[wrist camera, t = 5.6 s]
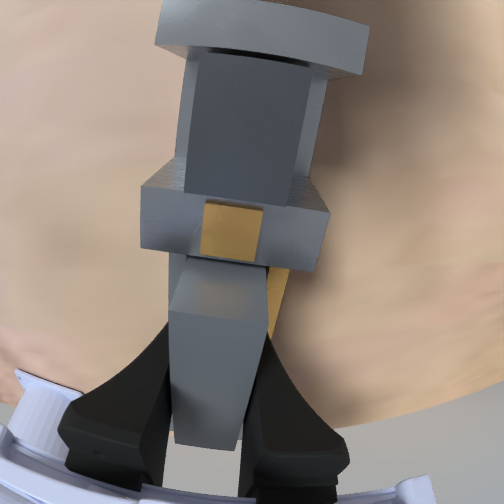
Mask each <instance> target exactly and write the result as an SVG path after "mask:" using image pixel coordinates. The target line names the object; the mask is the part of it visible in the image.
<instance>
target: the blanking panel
mask: <svg viewBox="0 0 504 504" xmlns="http://www.w3.org/2000/svg"><path fill="white" fill-rule="evenodd" d="M168 320H169V361H170V384H171V400H172V415H173V427H174V438H175V443H177V444H182V445H188V446H195V447H202V448H209V449H218V450H227V451H234V450H235V447H236V443H237V440H238V437H239V433H240V430H241V426H242V423H243V419H244V416H245V412H246V408H247V405H248V401H249V398H250V394H251V390H252V387H253V383H254V379H255V376H256V372H257V368H258V364H259V361H260V357H261V353H262V349H263V345H264V342H265V338H266V334H267V330H268V326H269V315H268V298H267V281H266V266H263V265H255V264H248V263H241V262H234V261H227V260H220V259H213V258H206V257H199V256H192V255H189V256H188V258H187V261H186V264H185V266H184V269H183V271H182V274H181V277H180V280H179V282H178V285H177V288H176V290H175V293H174V296H173V299H172V301H171V304H170V307H169V310H168Z"/></svg>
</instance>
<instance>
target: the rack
mask: <svg viewBox="0 0 504 504" xmlns="http://www.w3.org/2000/svg"><path fill="white" fill-rule="evenodd" d="M369 31H370V26H367V25H364V24H361V23H358V22H355V21H351V20H348V19H345V18H341V17H338V16H334V15H330V14H326V13H322V12H318V11H314V10H310V9H305V8H301V7H296V6H290V5H285V4H279V3H273V2H267V1H260V0H163V3H162V8H161V12H160V17H159V23H158V28H157V33H156V39H155V45H156V46H159V47H161V48H163V49H165V50H168V51H170V52H172V53H174V54H176V55H178V56H181V57H183V58H185V59H187V60H186V66H185V73H184V80H183V87H182V94H181V102H180V110H179V118H178V127H177V137H176V147H175V157H174V158H173V159H171V160H170V161H169V162H168V163H167V164H166V165H164V166H163V167H162V168H161V169H160V170H159V171H157V172H156V173H155V174H154V175H153V176H152V177H151V178H149V179H148V180H147V181H146V182H145V183H144V184H143V185H142V186H141V210H140V236H141V248H144V249H151V250H158V251H164V252H169V294H168V298H169V307H170V304H171V301H172V299H173V296H174V293H175V290H176V288H177V285H178V282H179V280H180V277H181V274H182V271H183V269H184V266H185V264H186V261H187V258H188V256H189V255H192V256H199V257H206V258H213V259H220V260H227V261H234V262H241V263H248V264H255V265H263V266H266V281H267V298H268V315H269V326H268V330H267V331H268V334H269V337H270V339H271V338H272V335H273V331H274V327H275V324H276V320H277V316H278V313H279V309H280V305H281V302H282V298H283V294H284V290H285V287H286V283H287V279H288V275H289V271H290V269H292V270H299V271H307V272H314V269H315V266H316V263H317V259H318V256H319V252H320V249H321V245H322V242H323V238H324V235H325V231H326V228H327V224H328V220H329V217H330V212H329V210H328V208H327V206H326V205H325V203H324V201H323V200H322V198H321V196H320V195H319V193H318V191H317V190H316V188H315V186H314V185H313V183H312V181H311V180H310V178H309V177H308V175H309V170H310V166H311V161H312V156H313V152H314V147H315V142H316V137H317V132H318V128H319V123H320V118H321V113H322V108H323V103H324V98H325V92H326V87H327V82H328V80H334V79H340V78H347V77H354V76H361V75H362V72H363V67H364V61H365V56H366V50H367V44H368V37H369ZM169 430H170V431H174V427H173V415H172V417H171V423H170V429H169ZM242 434H243V423H242V426H241V430H240V433H239V437H238V440H242Z"/></svg>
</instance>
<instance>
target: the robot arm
mask: <svg viewBox="0 0 504 504" xmlns="http://www.w3.org/2000/svg"><path fill="white" fill-rule="evenodd" d="M15 375H16V377H17V378H18V380H19V382H20V384H21V385H22V387H23V389H24V390H25V392H24V393H23V395H22V397H21V399H20V401H19V403H18V405H17V407H16V409H15V411H14V413H13V415H12V417H11V419H10V421H9V423H8V426H7V427H5V426H4V425H2V424H1V423H0V504H436V500H435V496H434V492H433V488H432V485H431V481H430V477H429V475H428V474H425V475H421V476H417V477H413V478H409V479H406V480H403V481H402V482H400V483H398V484H397V485H396V486H395V487H390V488H385V489H379V490H374V491H367V492H361V493H353V494H346V495H337V492H336V485H337V484H338V478H337V475H338V474H340V473H341V472H342V471H343V470H344V469H345V468H346V467H347V466H348V465H349V463H350V458H349V452H348V449H347V447H346V443H345V441H344V438H342V437H341V436H340V435H339V434H337V433H336V432H335V431H334V430H333V429H332V428H330V427H329V426H328V425H327V424H326V423H325V422H324V421H323V420H322V419H321V418H320V417H319V416H318V415H317V414H316V412H315V411H314V410H313V409H312V408H311V407H310V406H309V404H308V403H307V402H306V401H305V400H304V398H303V397H302V396H301V394H300V393H299V392H298V390H297V389H296V387H295V386H294V384H293V383H292V381H291V380H290V378H289V376H288V375H287V373H286V371H285V369H284V368H283V366H282V364H281V362H280V360H279V358H278V356H277V353H276V351H275V349H274V347H273V344H272V342H271V339H270V337H269V334H268V331H267V334H266V338H265V342H264V345H263V349H262V353H261V357H260V361H259V364H258V368H257V372H256V376H255V379H254V383H253V387H252V390H251V394H250V398H249V401H248V405H247V408H246V412H245V416H244V419H243V434H242V449H241V450H242V451H241V464H240V476H239V487H238V497H227V496H217V495H208V494H199V493H192V492H186V491H180V490H174V489H168V488H163V487H162V483H163V473H164V464H165V457H166V449H167V442H168V436H169V429H170V423H171V417H172V400H171V384H170V361H169V321H168V322H167V324H166V325H165V326H164V328H163V329H162V330H161V331H160V333H159V334H158V335H157V336H156V337H155V339H154V340H153V341H152V342H151V343H150V344H149V345H148V346H147V347H146V349H145V350H144V351H143V352H142V353H141V354H140V355H139V356H138V357H137V358H136V359H135V360H133V361H132V362H131V363H130V364H129V365H128V366H127V367H125V368H124V369H123V370H122V371H120V372H119V373H118V374H117V375H115V376H114V377H113V378H111V379H110V380H108V381H107V382H105V383H104V384H102V385H100V386H99V387H97V388H96V389H94V390H92V391H91V392H89V393H87V394H85V395H83V394H82V393H80V392H78V391H75V390H72V389H69V388H66V387H63V386H60V385H57V384H54V383H52V382H49V381H46V380H43V379H41V378H38V377H36V376H33V375H31V374H28V373H26V372H23V371H21V370H18V369H16V370H15ZM126 497H128V498H131V499H128V498H126ZM134 499H135V500H134Z"/></svg>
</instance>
